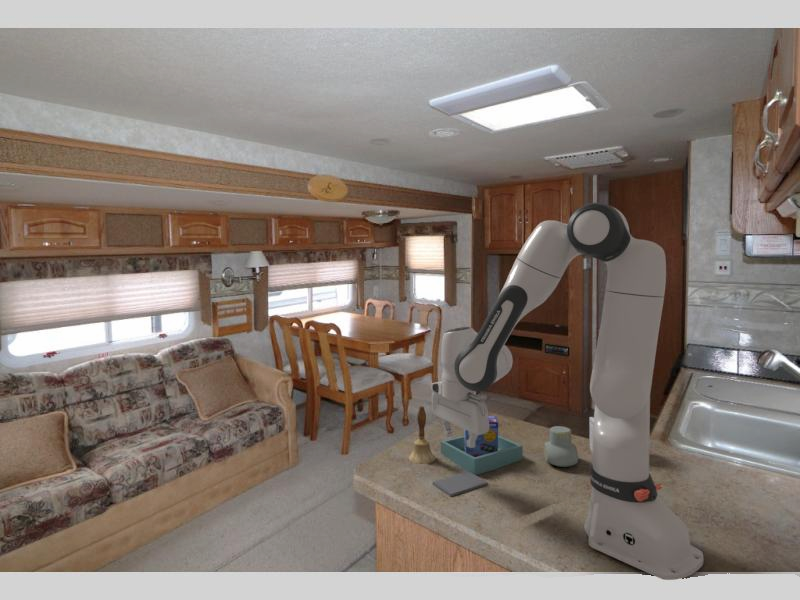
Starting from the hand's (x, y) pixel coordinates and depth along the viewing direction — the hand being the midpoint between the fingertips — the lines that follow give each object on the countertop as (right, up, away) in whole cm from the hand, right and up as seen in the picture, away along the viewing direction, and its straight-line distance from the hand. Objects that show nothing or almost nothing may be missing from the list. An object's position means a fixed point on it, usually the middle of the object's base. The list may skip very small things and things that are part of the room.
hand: (459, 441), depth 120 cm
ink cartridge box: (+9, -11, +17) cm, 22 cm away
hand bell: (-9, -11, +17) cm, 23 cm away
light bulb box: (+48, -10, +18) cm, 52 cm away
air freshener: (+31, -10, +13) cm, 35 cm away
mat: (0, -12, +1) cm, 12 cm away
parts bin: (+9, -10, +17) cm, 22 cm away
